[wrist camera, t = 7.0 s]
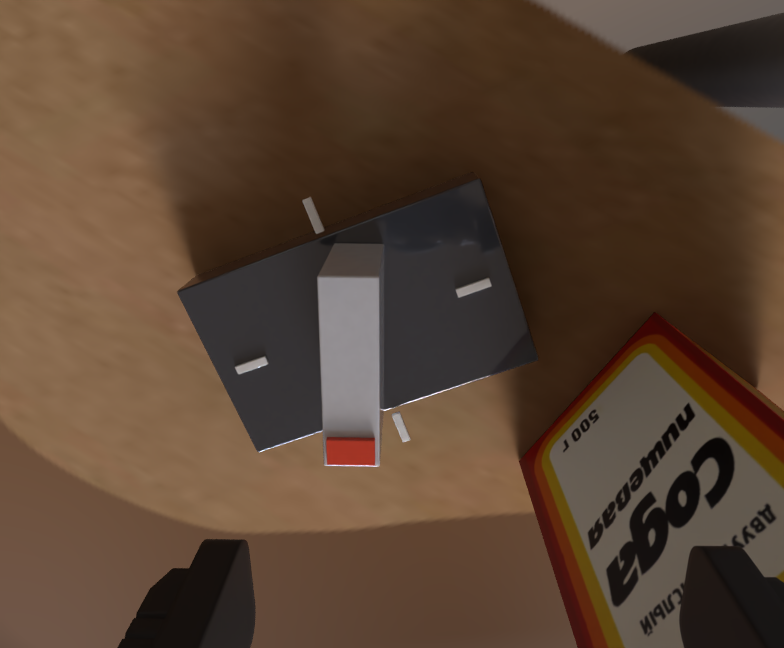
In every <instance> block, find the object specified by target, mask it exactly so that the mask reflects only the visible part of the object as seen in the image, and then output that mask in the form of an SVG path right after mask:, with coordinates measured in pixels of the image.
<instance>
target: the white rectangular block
mask: <svg viewBox="0 0 784 648" xmlns="http://www.w3.org/2000/svg"><path fill="white" fill-rule="evenodd" d="M317 291H318V319H319V346H320V373H321V401H322V428H323V455H324V465H326V466H379V465H380V455H381V441H382V427H383V413H384V244H351V243H335V244H333V246H332V248H331V250H330V252H329V254H328V256H327V258H326V260H325V262H324V264H323V266H322V268H321V270H320V272H319V274H318V276H317Z"/></svg>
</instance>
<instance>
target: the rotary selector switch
mask: <svg viewBox="0 0 784 648" xmlns="http://www.w3.org/2000/svg"><path fill="white" fill-rule="evenodd" d="M302 202H303V204H304V206H305V209H306V211H307V214H308V216H309V218H310V221H311V223H312V226H313V228H314V230H315V231H313V232H311V233H308V234H305V235H303V236H300V237H297V238H295V239H292V240H289V241H287V242H284V243H281V244H279V245H276V246H273V247H271V248H268V249H265V250H263V251H260V252H257V253H255V254H252V255H249V256H247V257H244V258H241V259H239V260H236V261H233V262H231V263H228V264H225V265H223V266H220V267H217V268H215V269H212V270H209V271H207V272H204V273H201V274H199V275H196V276H195V277H194V278H192V279H191V280H190V281H189V282H188V283H186V284H185V285H184V286H183V287H182V288H180V289H179V290H178V291H177V293H178V295H179V297H180V299H181V301H182V303H183V305H184V307H185V309H186V311H187V313H188V315H189V317H190V319H191V321H192V323H193V325H194V327H195V329H196V331H197V333H198V335H199V337H200V339H201V341H202V343H203V345H204V347H205V349H206V351H207V353H208V355H209V357H210V359H211V361H212V363H213V365H214V367H215V369H216V371H217V373H218V375H219V377H220V379H221V381H222V383H223V385H224V386H225V388H226V390H227V392H228V394H229V396H230V398H231V400H232V402H233V404H234V406H235V408H236V410H237V412H238V414H239V416H240V418H241V420H242V422H243V424H244V426H245V428H246V430H247V432H248V434H249V436H250V438H251V440H252V442H253V444H254V446H255V448H256V450H257V452H261V451H264V450H267V449H270V448H273V447H276V446H279V445H282V444H285V443H288V442H291V441H294V440H297V439H300V438H303V437H306V436H309V435H312V434H315V433H318V432H321V431H323V428H322V401H321V373H320V346H319V319H318V291H317V276H318V274H319V272H320V270H321V268H322V266H323V264H324V262H325V260H326V258H327V256H328V254H329V252H330V250H331V248H332V246H333V244H335V243H351V244H384V411H385V410H388V409H391V408H394V407H398V406H401V405H404V404H407V403H410V402H413V401H416V400H419V399H422V398H425V397H428V396H431V395H434V394H437V393H440V392H443V391H446V390H449V389H452V388H455V387H458V386H461V385H464V384H467V383H470V382H474V381H477V380H480V379H483V378H486V377H489V376H492V375H495V374H498V373H501V372H504V371H507V370H510V369H513V368H516V367H519V366H522V365H525V364H528V363H531V362H534V361H537V360H538V359H539V358H538V354H537V351H536V348H535V345H534V342H533V339H532V336H531V333H530V330H529V327H528V324H527V320H526V317H525V314H524V311H523V308H522V305H521V302H520V299H519V296H518V293H517V290H516V286H515V283H514V280H513V277H512V274H511V271H510V268H509V265H508V262H507V259H506V256H505V252H504V249H503V246H502V243H501V240H500V237H499V234H498V231H497V228H496V225H495V222H494V219H493V215H492V212H491V209H490V206H489V203H488V200H487V197H486V194H485V191H484V188H483V185H482V181H481V179H480V178H479V177H478V176H477V175H476V174H475V173H474V172H470V173H468V174H465V175H462V176H460V177H457V178H454V179H452V180H449V181H446V182H444V183H441V184H438V185H436V186H433V187H430V188H428V189H425V190H423V191H420V192H417V193H415V194H412V195H409V196H407V197H404V198H401V199H399V200H396V201H393V202H391V203H388V204H385V205H383V206H380V207H377V208H375V209H372V210H369V211H367V212H364V213H361V214H359V215H356V216H353V217H351V218H348V219H345V220H343V221H340V222H337V223H335V224H332V225H329V226H327V227H323V225H322V222H321V220H320V217H319V215H318V212H317V210H316V208H315V205H314V203H313V200H312V198H311V197H308V198H306V199H303V200H302ZM392 417H393V420H394V422H395V424H396V427H397V429H398V432H399V434H400V436H401V439H402V441H403V442H405V441H408V440H410V436H409V433H408V431H407V428H406V426H405V424H404V421H403V419H402V416H401V414H400V412H396V413H393V414H392Z"/></svg>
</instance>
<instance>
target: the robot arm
mask: <svg viewBox="0 0 784 648" xmlns="http://www.w3.org/2000/svg"><path fill="white" fill-rule="evenodd" d="M679 625H680V633H681V638H682V642H683V646H684V648H784V583H783V582H782V581H781V580H779V579H778V578H777V577H764V576H763V575H762V573H761V572H760V570H759V569H758V568H757V566H756V565H755V564H754V562H753V561H752V560H751V558H750V557H749V555H748V554H747V553H746V552H745V550H744V549H742V548H741V547H739V546H694V547H693V548H692V549H691V551H690V554H689V559H688V565H687V571H686V577H685V583H684V589H683V595H682V601H681V607H680V614H679ZM254 627H255V599H254V590H253V582H252V572H251V563H250V554H249V547H248V543H247V541H246V540H228V539H227V540H226V539H206V540H204V541H203V542H202V544H201V545H200V547H199V550H198V552H197V553H196V555H195V558H194V560H193V562H192V564H191V566H190V568H189V569H185V568H184V569H183V568H173V569H171V570H170V571H169V572H168V573H167V574H166V575H165V576H164V577H163V578H162V579H160V580H159V581H158V582H157V583H156V584H155V585H154V586H153V587H152V588H150V590H149V592H148V594H147V595H146V597H145V599H144V601H143V602H142V604H141V606H140V608H139V610H138V612H137V615H136V618H134V619H133V621H132V623H131V624H130V626H129V628H128V630H127V632H126V635H125V639H122V641H121V642H120V644H119V646H118V648H250V646H251V643H252V639H253V634H254Z"/></svg>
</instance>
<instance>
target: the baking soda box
mask: <svg viewBox="0 0 784 648" xmlns="http://www.w3.org/2000/svg"><path fill="white" fill-rule="evenodd" d="M519 463H520V466H521V469H522V472H523V476H524V479H525V482H526V485H527V488H528V491H529V495H530V498H531V501H532V504H533V507H534V510H535V514H536V517H537V520H538V523H539V526H540V529H541V532H542V535H543V539H544V542H545V545H546V548H547V552H548V555H549V558H550V561H551V564H552V567H553V570H554V574H555V577H556V580H557V583H558V587H559V589H560V593H561V596H562V599H563V602H564V605H565V609H566V612H567V615H568V618H569V621H570V625H571V628H572V631H573V634H574V637H575V640H576V644H577V647H578V648H684V646H683V642H682V638H681V633H680V625H679V614H680V607H681V601H682V595H683V589H684V583H685V577H686V571H687V565H688V559H689V554H690V551H691V549H692V548H693V547H694V546H739V547H741V548H742V549H744V550H745V552H746V553H747V554H748V555H749V557H750V558H751V560H752V561H753V562H754V564H755V565H756V566H757V568H758V569H759V570H760V572H761V573H762V575H763V576H764V577H777V578H778V579H779V580H781V581H782V582H783V583H784V411H783V410H782V409H781V408H779V407H778V406H777V405H776V404H774V403H773V402H772V401H771V400H770V399H768V398H767V397H766V396H765V395H763V394H762V393H761V392H760V391H759V390H757V389H756V388H755V387H753V386H752V385H751V384H749V383H748V382H747V381H745V380H744V379H743V378H741V377H740V376H739V375H737V374H736V373H735V372H733V371H732V370H731V369H730V368H728V367H727V366H726V365H724V364H723V363H722V362H720V361H719V360H718V359H716V358H715V357H714V356H712V355H711V354H710V353H708V352H707V351H706V350H704V349H703V348H702V347H701V346H699V345H698V344H697V343H695V342H694V341H693V340H691V339H690V338H689V337H687V336H686V335H685V334H683V333H682V332H681V331H679V330H678V329H677V328H675V327H674V326H673V325H672V324H670V323H669V322H668V321H666V320H665V319H664V318H662V317H661V316H660V315H658V314H657V313H656V312H654V313H653V314H652V316H651V317H650V318H649V319H648V320H647V321H646V322H645V323H644V324H643V325H642V327H641V328H640V329H639V330H638V331H637V332H636V333H635V334H634V335H633V336H632V338H631V339H630V340H629V341H628V342H627V343H626V344H625V345H624V346H623V347H622V348H621V350H620V351H619V352H618V353H617V354H616V355H615V356H614V357H613V358H612V359H611V361H610V362H609V363H608V364H607V365H606V366H605V367H604V368H603V369H602V370H601V372H600V373H599V374H598V375H597V376H596V377H595V378H594V379H593V380H592V381H591V382H590V384H589V385H588V386H587V387H586V388H585V389H584V390H583V391H582V392H581V393H580V395H579V396H578V397H577V398H576V399H575V400H574V401H573V402H572V403H571V404H570V406H569V407H568V408H567V409H566V410H565V411H564V412H563V413H562V414H561V415H560V416H559V418H558V419H557V420H556V421H555V422H554V423H553V424H552V425H551V426H550V427H549V429H548V430H547V431H546V432H545V433H544V434H543V435H542V436H541V437H540V438H539V440H538V441H537V442H536V443H535V444H534V445H533V446H532V447H531V448H530V449H529V450H528V452H527V453H526V454H525V455H524V456H523V457H522V458H521V459H520V460H519Z"/></svg>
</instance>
